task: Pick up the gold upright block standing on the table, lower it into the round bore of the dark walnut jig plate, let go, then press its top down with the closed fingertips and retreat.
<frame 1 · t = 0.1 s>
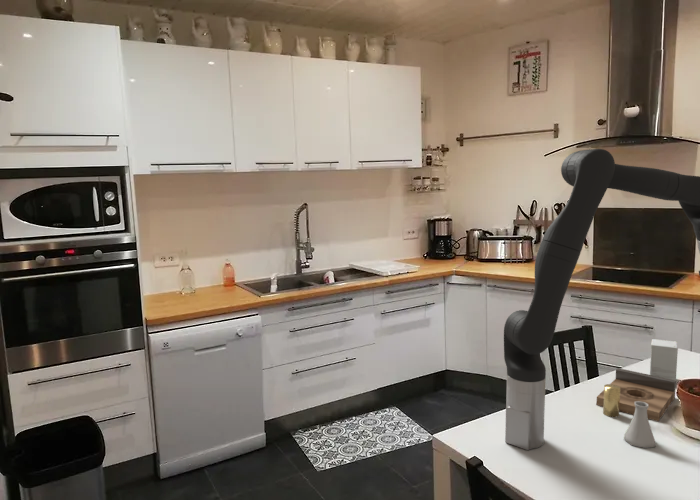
gold upright block: (610, 414, 144), on the table
flask: (639, 442, 129), on the table
supplement box: (662, 380, 167), on the table
jig: (636, 401, 151), on the table
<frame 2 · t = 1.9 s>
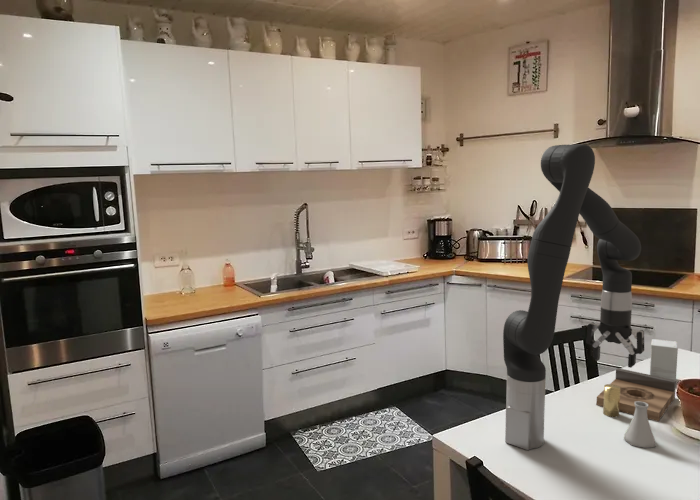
hand: (613, 363, 142), 15 cm above the table, tool pointing down, fingers open, 8 cm apart
nothing on the table moved.
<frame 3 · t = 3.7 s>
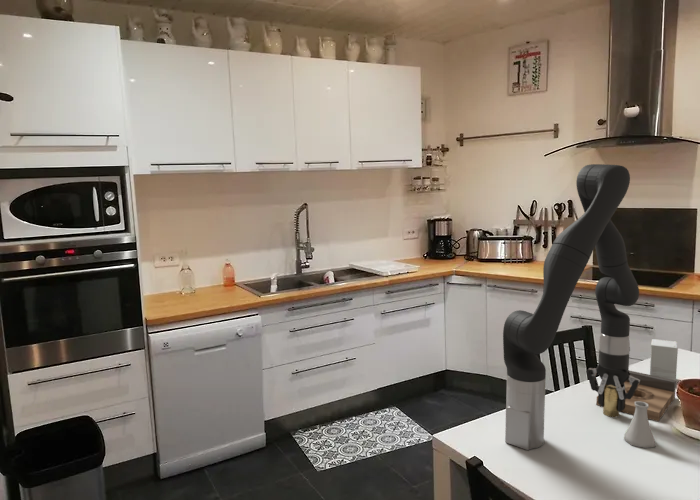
hand: (611, 408, 144), 2 cm above the table, tool pointing down, fingers closed on gold upright block, 4 cm apart
gold upright block: (610, 414, 144), on the table, touching gripper
everything else where it was.
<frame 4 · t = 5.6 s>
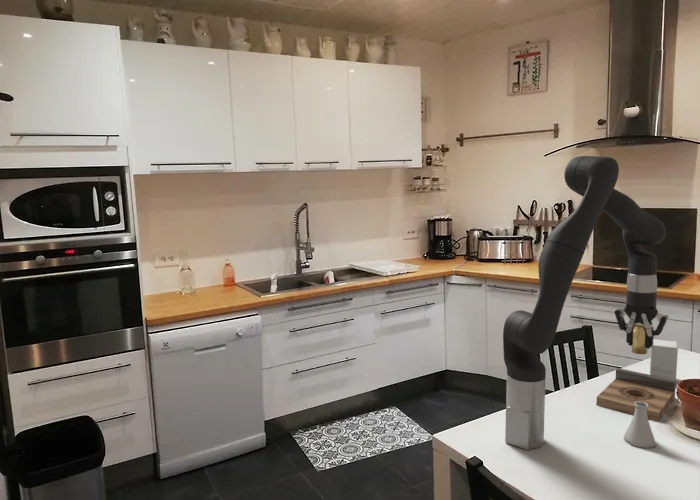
hand: (639, 346, 149), 17 cm above the table, tool pointing down, fingers closed on gold upright block, 4 cm apart
gold upright block: (639, 351, 149), point 15 cm above the table, touching gripper
everything else where it was.
when the fingers open (4 cm above the table, at t = 7.8 s): gold upright block drops 2 cm, resting in jig.
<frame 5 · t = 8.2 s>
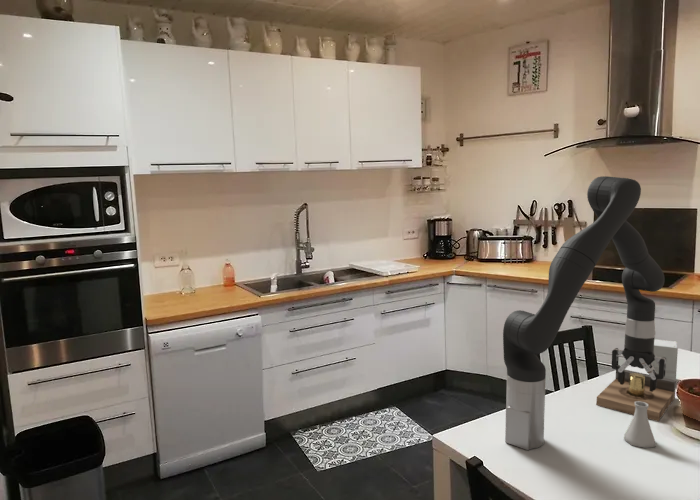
hand: (636, 387, 151), 4 cm above the table, tool pointing down, fingers open, 7 cm apart
gold upright block: (635, 401, 152), resting in jig
everything else where it was.
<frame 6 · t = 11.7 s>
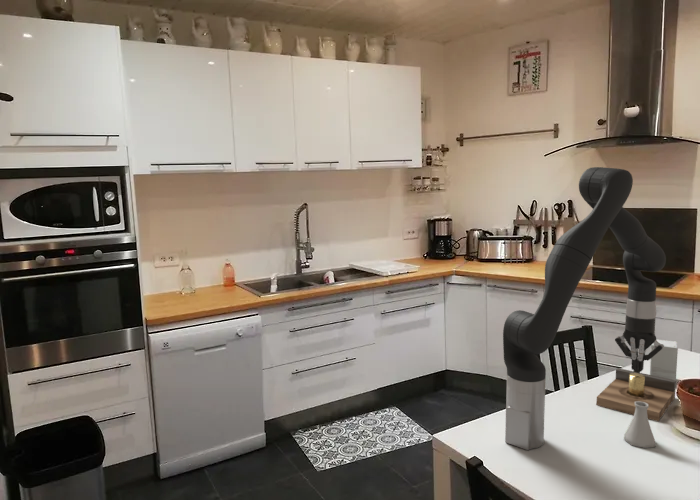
hand: (637, 371, 150), 9 cm above the table, tool pointing down, fingers closed
nothing on the table moved.
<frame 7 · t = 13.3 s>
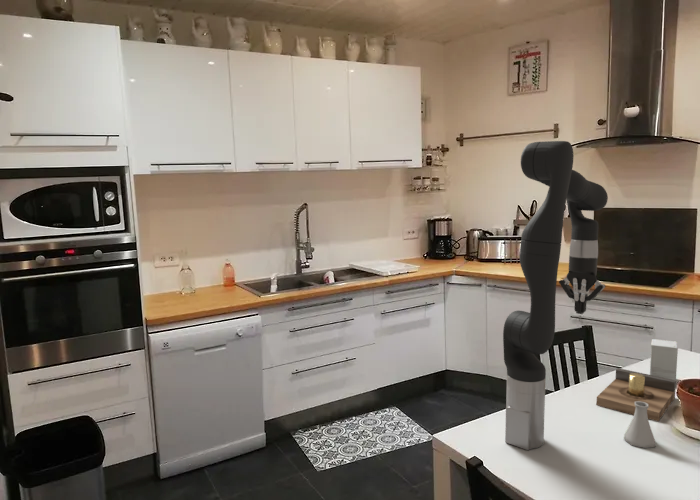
hand: (580, 313, 150), 27 cm above the table, tool pointing down, fingers closed
nothing on the table moved.
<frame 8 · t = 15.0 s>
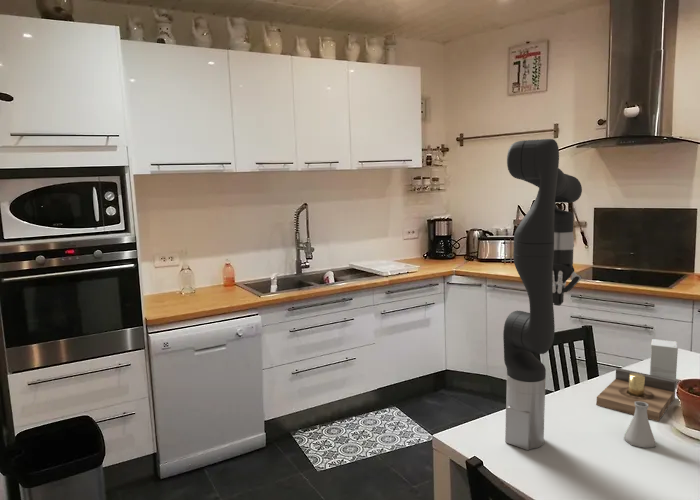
hand: (557, 304, 151), 29 cm above the table, tool pointing down, fingers closed
nothing on the table moved.
at the end: gold upright block 0.1 cm off-centre on the jig, point 0.0 cm above the jig's base; gold upright block tilted 0°; the gripper is holding nothing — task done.
